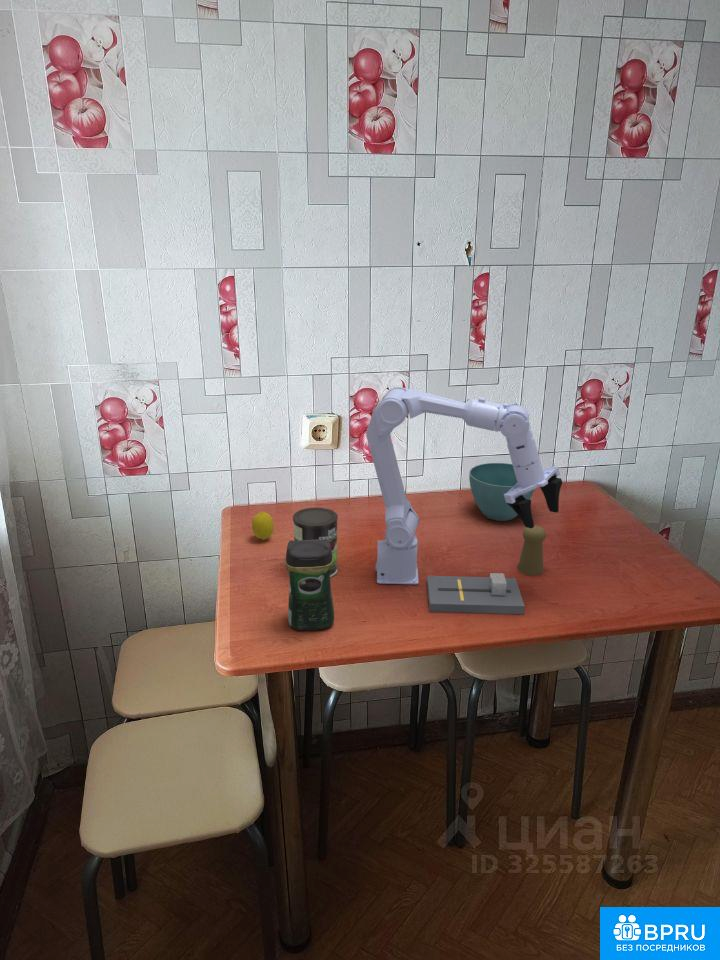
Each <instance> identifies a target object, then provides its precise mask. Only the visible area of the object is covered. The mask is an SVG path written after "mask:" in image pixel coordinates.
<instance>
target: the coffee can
mask: <svg viewBox="0 0 720 960" xmlns="http://www.w3.org/2000/svg"><path fill="white" fill-rule="evenodd" d="M292 521H293V541H296V540H316V539H328V540H329V542H330V546H331V550H332V556H333V564H332V567H331V569H330V579H331V578H333V577H334V576H335V575H336V574H337V573H338V514H337V512H336V511H334V510H332V509H329V508H326V507H307V508H303V509H300V510H298V511H295V512H294V514H293V515H292Z"/></svg>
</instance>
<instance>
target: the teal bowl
mask: <svg viewBox="0 0 720 960" xmlns="http://www.w3.org/2000/svg"><path fill="white" fill-rule="evenodd" d="M468 473H469V474H468V475H469V477H468V478H469V479H468V480H469V486H470V490H471V493H472V494H471V495H472V496H473V499H474V502H475V504H476V505H477V507H478V509H479V510H480V511H481V513H482V514H483V515H484V516H485V517H486V518H487V519H489V520H493V521H498V522H499V521H500V522H506V521H507V522H508V521H511V520H513V519H515V518H517V516H518V514H517V513H516V512H515V511H514V510H513V509H512V508H511V507H510V506H509V505H508V504H507V503H506V501H505V497H504V494H505V493H507V492H508V491H509V490H510V489H511V488H512V487H513V486H514V485H515V484H516V483H517V479H516V475H515V472H514V468H513V464H512V463H506V462H487V463H481V464H477V465H475V466H473V467H471V468H470V470H469V472H468ZM535 489H536V488H535ZM535 489H533V490H532V491H530V492H528V493H527V494H525V495H523V497H525V499H528V500H532V497H533V494H534V492H535Z"/></svg>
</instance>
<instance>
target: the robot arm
mask: <svg viewBox="0 0 720 960" xmlns="http://www.w3.org/2000/svg"><path fill="white" fill-rule="evenodd" d="M424 413H427V414H433V415H439V416H446V417H451V418H458V419H462V420H463V422H464V423H465V424H466V425H467V426H469V427H473V428H478V429H483V430H487V431H492V432H500V433H501V434H502V435H503V436H504V437H505V441H506V443H507V444H506V447H507V450H508V453H509V458H510V461H511V464H513V468H514V472H515V475H516V479H517V483H516V484H515V485H514V486H513V487H512V488H511V489H510V490H509V491H508V492H507V493H505V494H504V497H505V501H506V503H507V504H508V505H509V506H510V507H511V508H512V509H513V510H514V511H515V512H516V513H517V514H518V515H517V516H518V518H519V519H520V520H521V522H522V523H523V526H524V527H525V528H526V527H527V528H533V527H534V525H535V523H534V519H533V515H532V499H530V500H528V499H525V497H523V495H525V494H527V493H528V492H530V491H532V490H533V489H537V488H540V489H541V492H542V494H543V496H544V500H545V502H546V506H547V508H548V511H549V512H552V513H558V512H559V504H560V503H559V501H560V492H561V488H562V485H563V480H562V478H560V477H559V476H561V472H560V469H559V467H558V466H550V467H548V468H546V469H543V465H542V462H541V459H540V458H541V457H540V454H539V452H538V448H537V444H536V440H535V436H533V430H532V428H531V427H530V414H529V412H528V410H527V408H525V407H524V406H523V405H521V404H518V403H515V402H514V403H510V404H509V403H507V402H503V403H501V404H500V403H498V402H497V403H496V402H491V401H487V400H486V397H482V396H478V399H477V398H472V399H470V400H468V401H467V402H463V401H460V400H456V399H452V398H449V397H448V398H447V397H444V396H439V395H437V394H433V393H429V392H424V391H421V390H418V389H415V388H405V387H402V386H395V387H393V388H391V389H389V390H388V391H387V393H386V394H385V395H384V396H383V397H382V399H380V400H379V402H378V404H377V405H376V406H375V407H374V408H373V410H372V413H371V417H370V420H369V423H368V425H367V429H366V432H365V434H366V439H367V444H368V447H369V451H370V454H371V458H372V463H373V465H374V468H375V473H376V477H377V482H378V485H379V489H380V491H381V495H382V500H383V502H384V503H383V504H384V506H385V509H384V510H385V513H384V514H385V515H384V521H385V527H386V528H385V532H384V538H385V539H382V540H381V539H380V540H377V554H376V555H377V561H376V563H375V571H376V583H377V584H380V585H381V584H383V585H385V584H386V585H387V584H389V585H419V571H418V546H419V545H418V543H419V541H418V538H417V536H416V534H415V533H416V530H417V529H418V527H419V523H420V519H419V515H418V514H417V513H416V511H415V510H414V509H413V507H412V504H411V501H410V500H409V499H407V496H406V490H405V488H404V483H403V480H402V475H401V472H400V467H399V465H398V464H399V463H398V459H397V455H396V452H395V448H394V443H393V440H392V435H391V433H392V432H393V431H394V429H395V428H397V427H399V426H400V425H401V424H402V423H404V421H405V420H406V418H407V415H409V419H410V420H411V419H413V418H415V417H418V416H420V415H422V414H424Z"/></svg>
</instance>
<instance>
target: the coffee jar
mask: <svg viewBox="0 0 720 960" xmlns="http://www.w3.org/2000/svg"><path fill="white" fill-rule="evenodd" d="M284 560H285V567H286V569H287V572H288V579H289V582H288V583H289V587H288V588H289V589H288V606H287V620H288V625H289V626H290V627H291V628H292V629H294V630H297V631H316V630H324V629H328V628H330V627H331V626H332V625H333V624H334V621H335V609H334V608H335V607H334V600H333V595H332V587H331V586H332V585H331V578H330V569H331V567H332V564H333V556H332V550H331V546H330V542H329V540H328V539H316V540H296V541H294V539H293V540H292V539H291V540H289V541H288V543H287V546H286V554H285V559H284Z"/></svg>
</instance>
